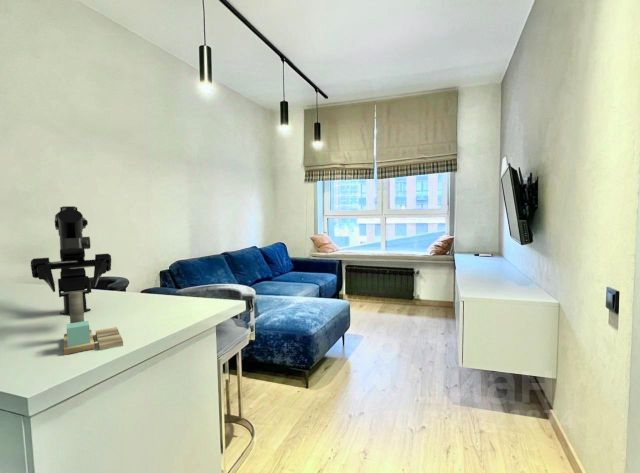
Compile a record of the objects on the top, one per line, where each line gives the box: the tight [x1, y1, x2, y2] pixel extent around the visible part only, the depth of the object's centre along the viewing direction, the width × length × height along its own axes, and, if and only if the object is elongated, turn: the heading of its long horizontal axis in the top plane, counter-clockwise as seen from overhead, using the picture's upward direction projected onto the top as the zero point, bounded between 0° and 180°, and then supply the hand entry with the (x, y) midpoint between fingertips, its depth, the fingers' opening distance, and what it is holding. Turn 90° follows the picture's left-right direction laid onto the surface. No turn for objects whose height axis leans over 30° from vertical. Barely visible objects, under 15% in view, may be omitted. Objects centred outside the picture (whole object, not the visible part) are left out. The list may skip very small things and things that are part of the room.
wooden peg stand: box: [63, 292, 95, 355], centre depth 89 cm, size 14×6×12 cm, turn 36°
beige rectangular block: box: [95, 326, 124, 351], centre depth 92 cm, size 14×5×1 cm, turn 36°
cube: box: [65, 320, 90, 347], centre depth 87 cm, size 4×4×4 cm
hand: (74, 288), depth 98 cm, fingers open, 9 cm apart
